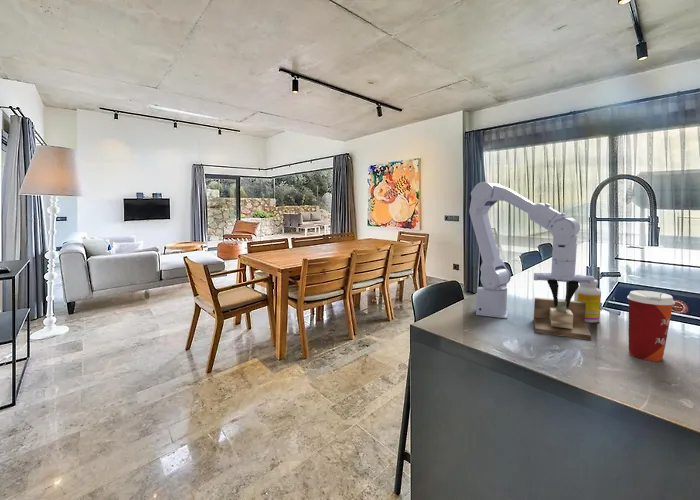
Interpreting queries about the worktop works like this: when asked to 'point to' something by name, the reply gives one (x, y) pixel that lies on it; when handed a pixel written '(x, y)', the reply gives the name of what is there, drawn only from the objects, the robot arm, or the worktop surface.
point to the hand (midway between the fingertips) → (561, 306)
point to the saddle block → (561, 315)
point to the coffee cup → (649, 323)
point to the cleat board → (545, 327)
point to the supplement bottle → (589, 300)
